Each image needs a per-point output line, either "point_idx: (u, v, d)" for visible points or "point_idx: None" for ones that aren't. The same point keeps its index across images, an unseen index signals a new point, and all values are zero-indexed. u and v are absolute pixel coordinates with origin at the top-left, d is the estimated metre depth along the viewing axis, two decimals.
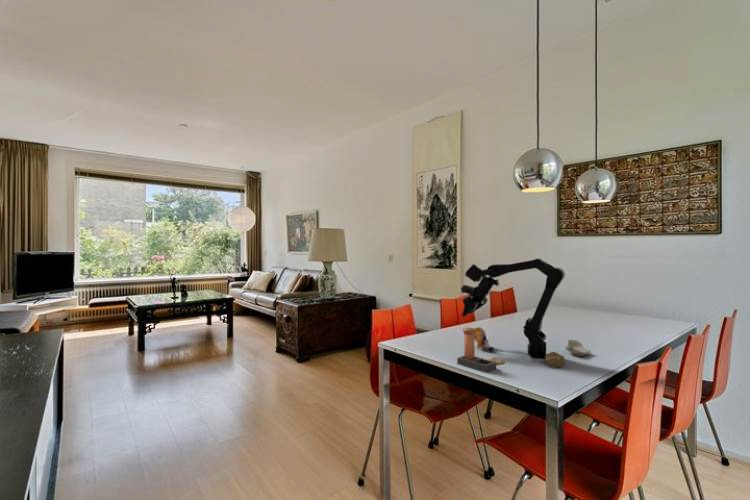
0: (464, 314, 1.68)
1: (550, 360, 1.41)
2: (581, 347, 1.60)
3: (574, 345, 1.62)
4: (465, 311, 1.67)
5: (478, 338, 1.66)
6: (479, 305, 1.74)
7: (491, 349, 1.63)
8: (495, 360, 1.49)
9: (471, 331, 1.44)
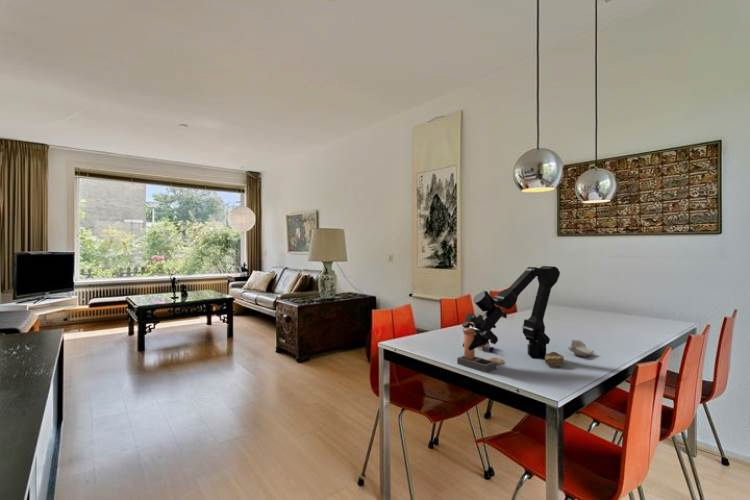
0: (472, 347, 1.44)
1: (549, 360, 1.42)
2: (584, 347, 1.60)
3: (577, 345, 1.61)
4: (475, 344, 1.44)
5: None
6: (474, 338, 1.50)
7: (491, 349, 1.63)
8: (495, 360, 1.49)
9: (471, 331, 1.44)
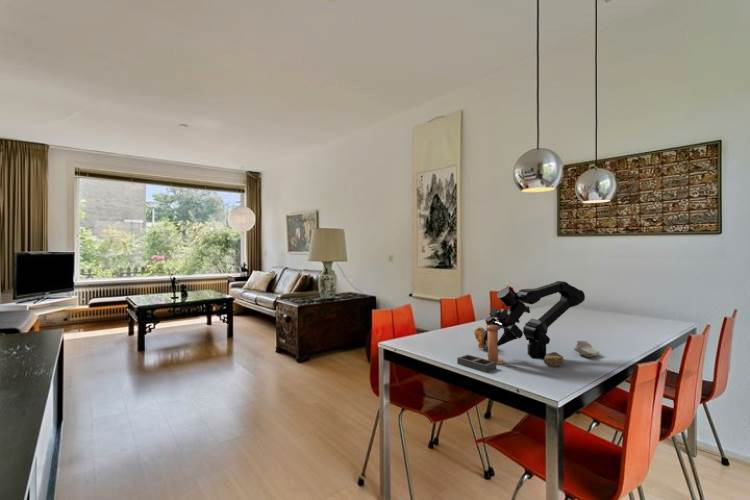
0: (501, 343, 1.44)
1: (548, 360, 1.42)
2: (590, 348, 1.59)
3: (583, 346, 1.60)
4: (503, 340, 1.44)
5: (479, 338, 1.66)
6: None
7: None
8: None
9: (495, 328, 1.47)
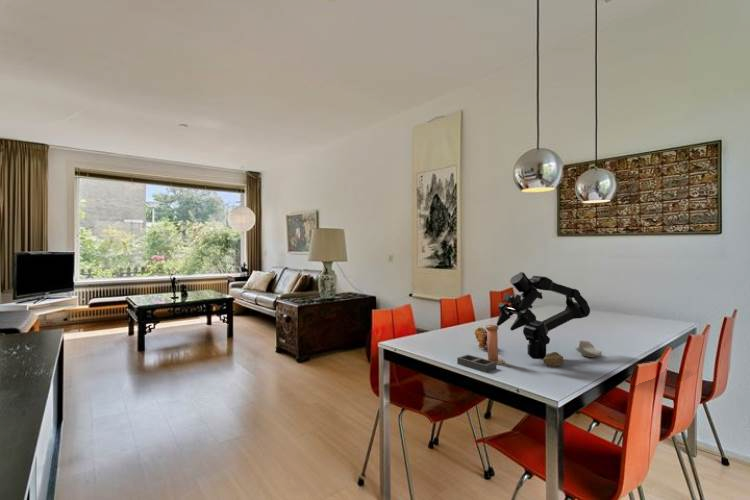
0: (514, 327, 1.46)
1: (548, 359, 1.42)
2: (592, 348, 1.58)
3: (585, 346, 1.60)
4: (517, 324, 1.46)
5: (480, 338, 1.66)
6: (507, 317, 1.57)
7: None
8: None
9: (495, 328, 1.47)
